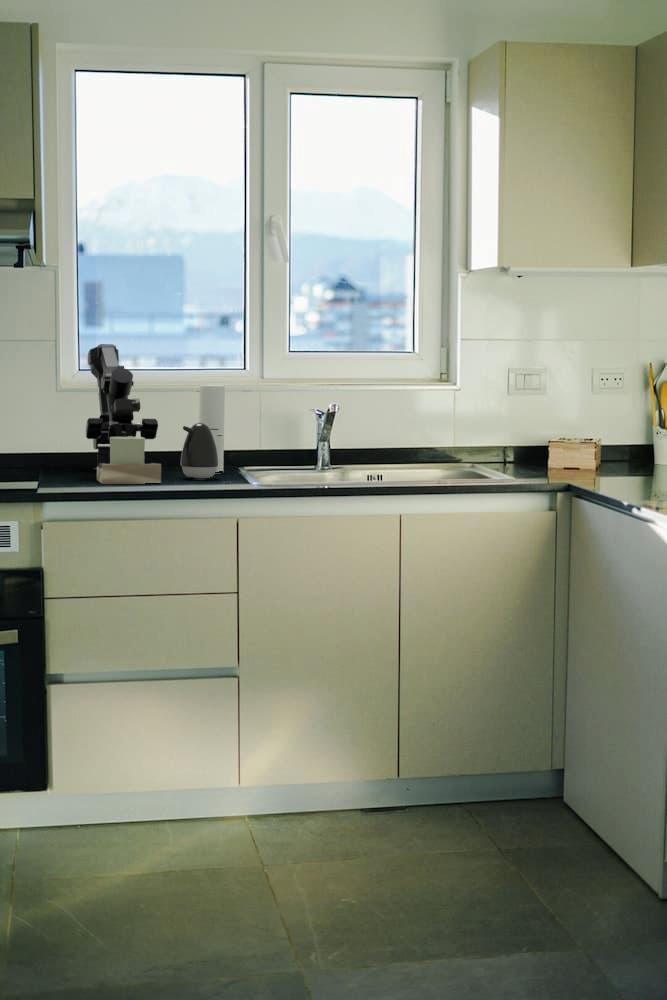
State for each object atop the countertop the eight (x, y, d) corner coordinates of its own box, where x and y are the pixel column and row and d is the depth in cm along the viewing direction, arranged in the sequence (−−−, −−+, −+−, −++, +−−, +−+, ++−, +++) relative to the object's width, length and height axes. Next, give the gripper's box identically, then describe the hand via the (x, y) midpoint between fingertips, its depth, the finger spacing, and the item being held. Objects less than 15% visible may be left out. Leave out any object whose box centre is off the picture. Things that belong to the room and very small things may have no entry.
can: (119, 483, 314) (120, 437, 312) (102, 480, 321) (103, 434, 320) (151, 482, 319) (151, 436, 318) (133, 479, 327) (134, 434, 325)
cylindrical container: (195, 471, 356) (196, 385, 353) (218, 471, 359) (219, 385, 356) (203, 473, 349) (204, 385, 346) (226, 473, 352) (228, 386, 349)
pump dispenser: (172, 477, 334) (173, 422, 332) (205, 476, 341) (205, 421, 339) (192, 481, 326) (193, 424, 325) (225, 479, 333) (226, 423, 331)
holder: (96, 480, 322) (96, 461, 321) (153, 479, 327) (153, 461, 326) (102, 484, 312) (102, 464, 311) (161, 483, 317) (161, 464, 316)
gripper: (87, 387, 324) (92, 431, 315) (157, 388, 330) (164, 431, 321) (83, 416, 332) (88, 459, 323) (151, 417, 338) (158, 459, 329)
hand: (125, 451), depth 324 cm, fingers closed, pressing on can
